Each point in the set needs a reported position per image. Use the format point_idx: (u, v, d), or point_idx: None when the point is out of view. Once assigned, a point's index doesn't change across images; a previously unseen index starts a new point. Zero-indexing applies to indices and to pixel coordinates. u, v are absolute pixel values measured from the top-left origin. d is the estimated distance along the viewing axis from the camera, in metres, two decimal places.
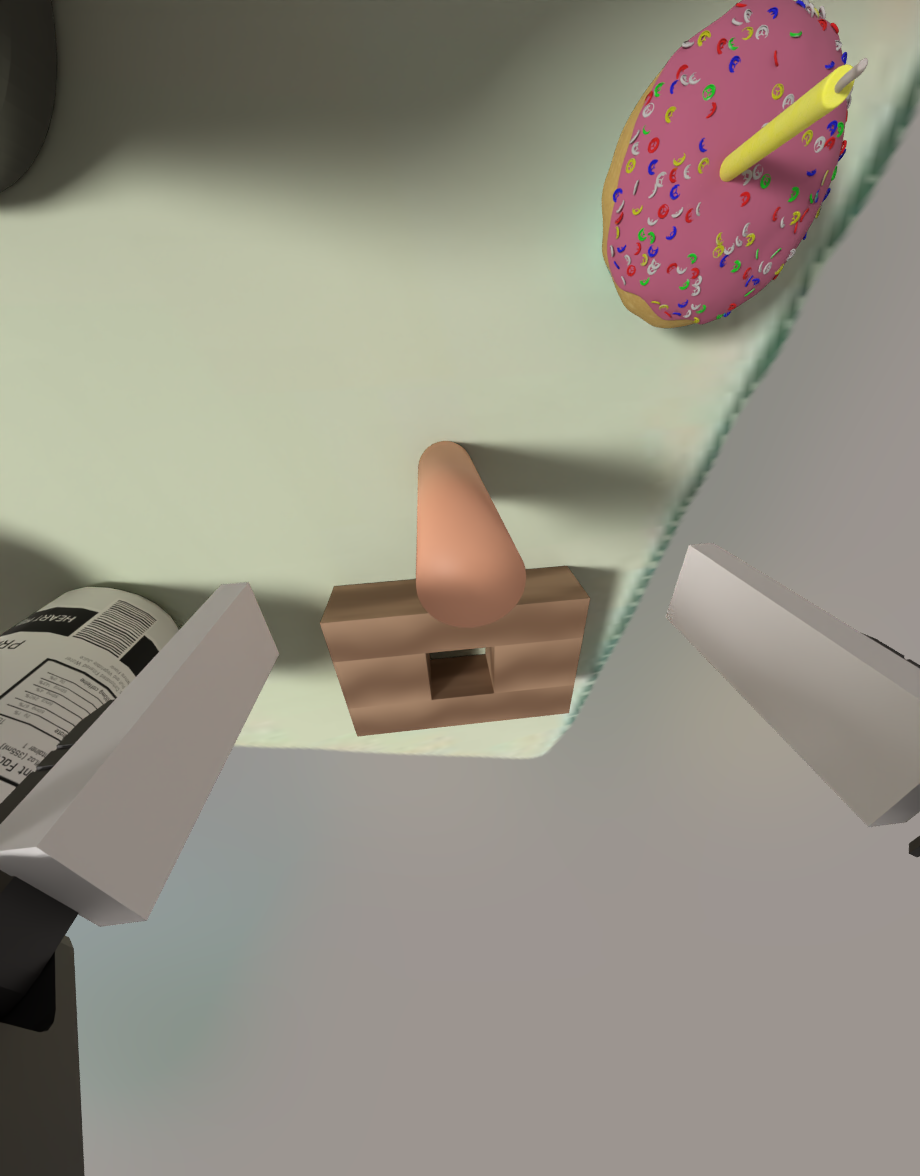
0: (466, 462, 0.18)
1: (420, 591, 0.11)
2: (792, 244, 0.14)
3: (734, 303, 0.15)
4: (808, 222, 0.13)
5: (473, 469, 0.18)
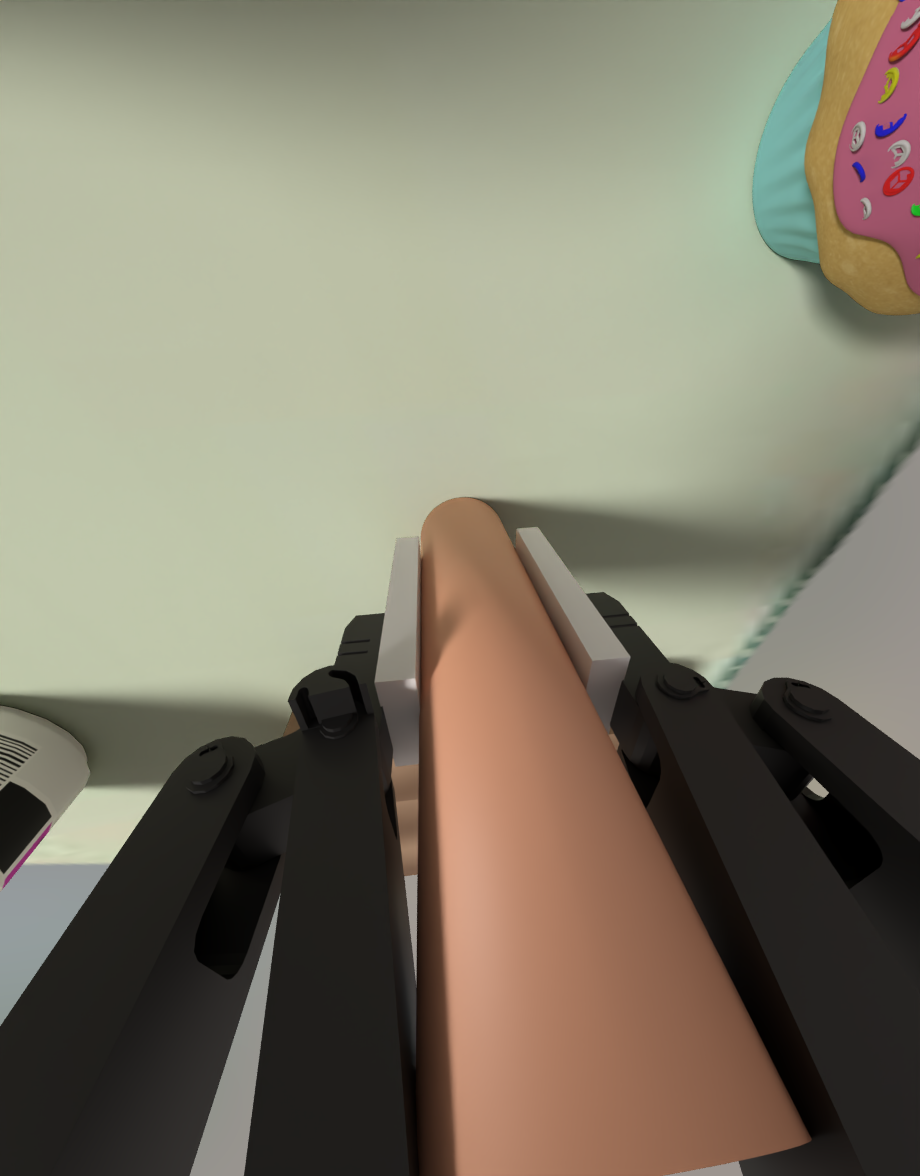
0: (506, 554, 0.10)
1: None
2: None
3: None
4: None
5: (520, 570, 0.10)
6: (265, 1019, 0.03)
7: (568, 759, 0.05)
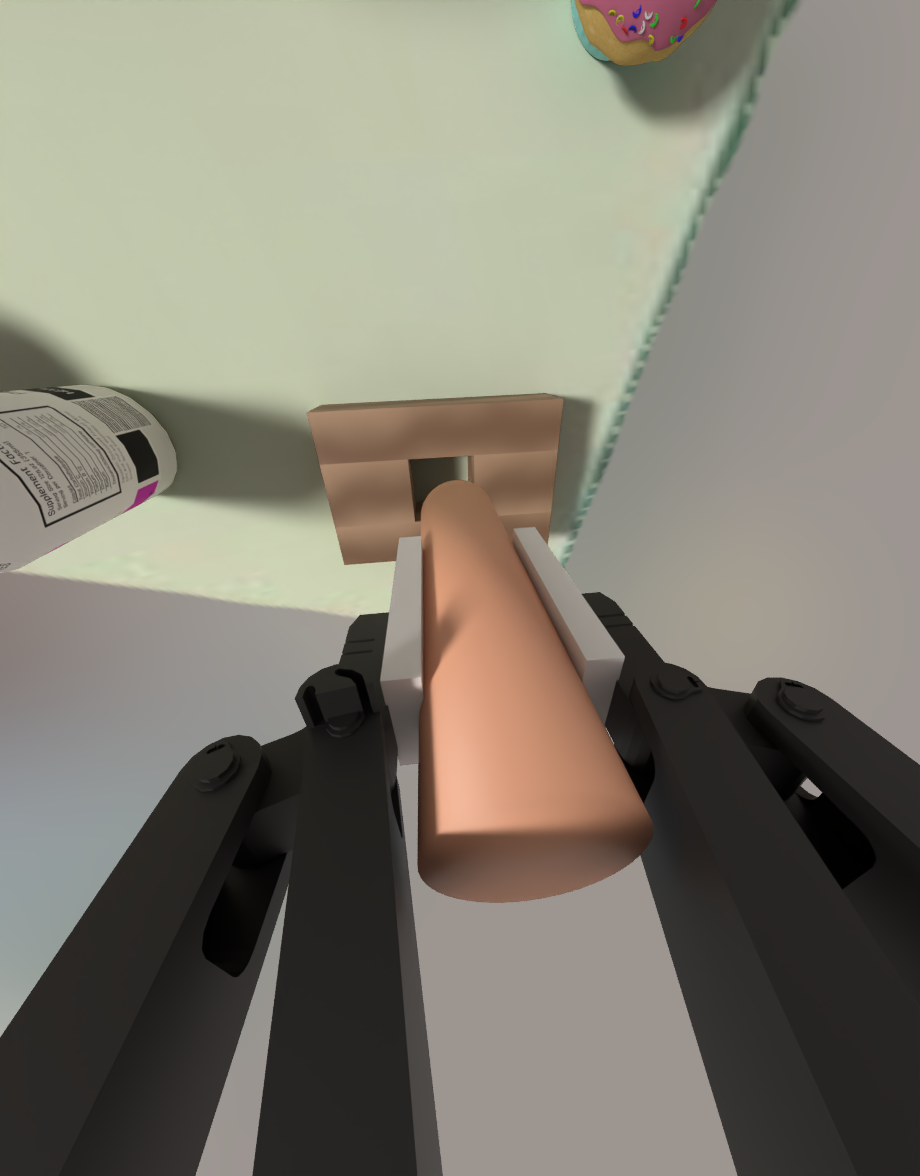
0: (492, 522, 0.12)
1: (426, 872, 0.05)
2: None
3: (685, 18, 0.16)
4: None
5: (503, 534, 0.12)
6: None
7: (524, 640, 0.07)
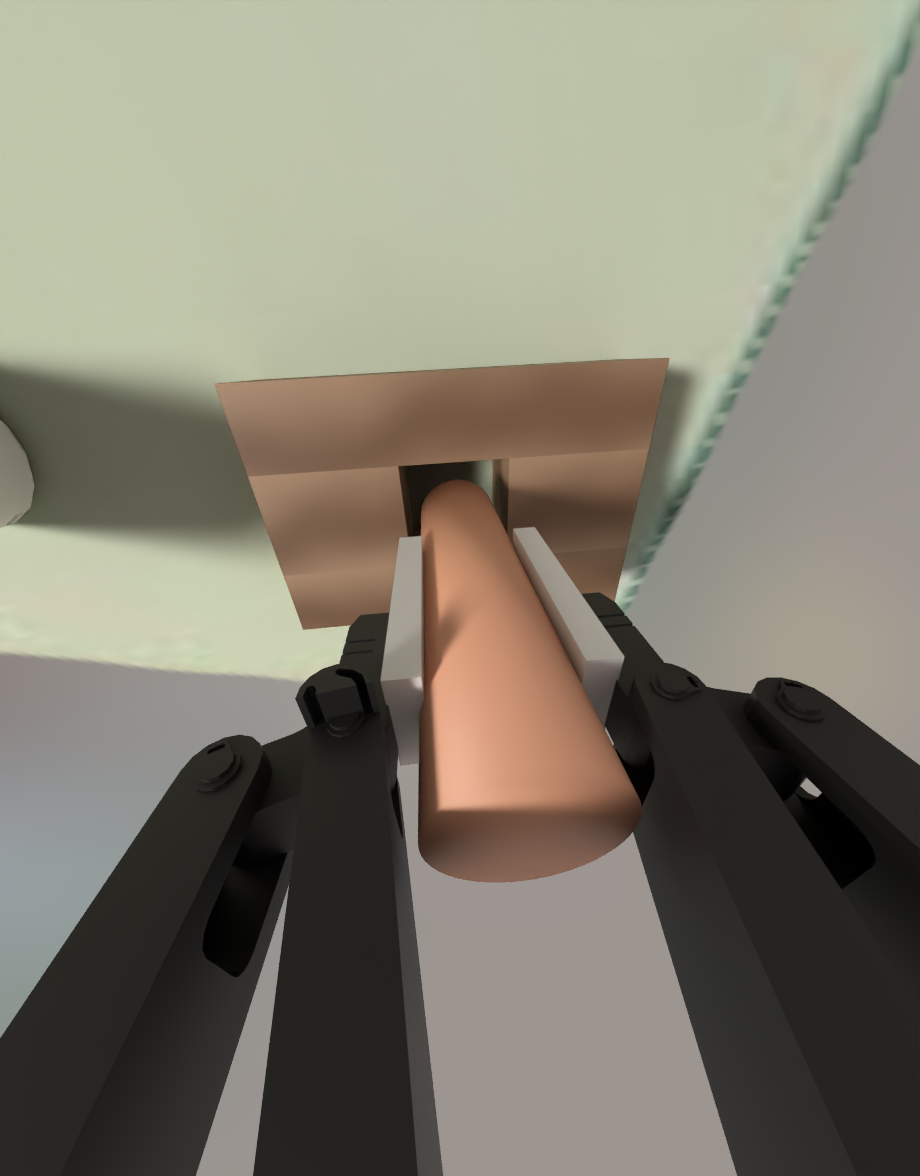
0: (491, 520, 0.13)
1: (425, 851, 0.06)
2: None
3: None
4: None
5: (502, 532, 0.12)
6: (274, 1015, 0.03)
7: (520, 632, 0.07)
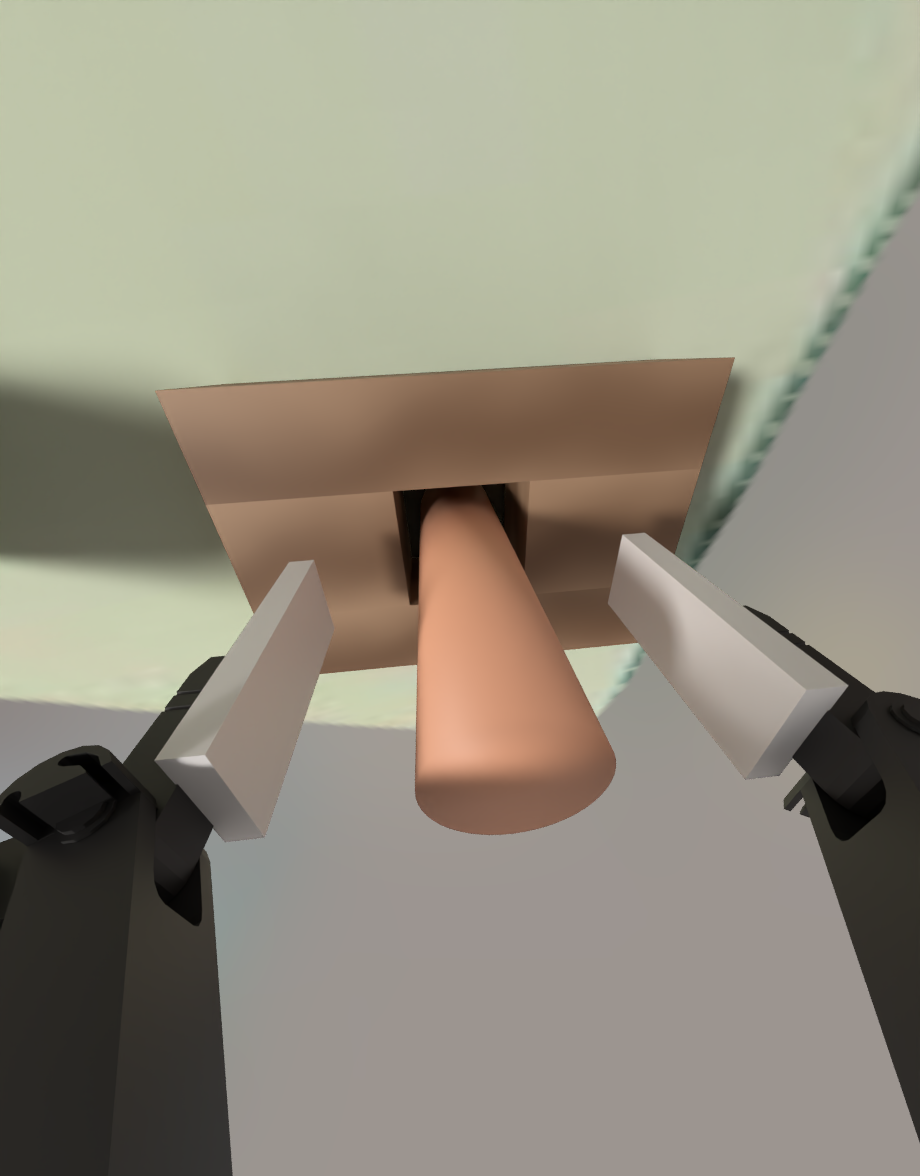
0: (486, 512, 0.13)
1: (422, 799, 0.06)
2: None
3: None
4: None
5: (496, 523, 0.13)
6: None
7: (510, 609, 0.08)
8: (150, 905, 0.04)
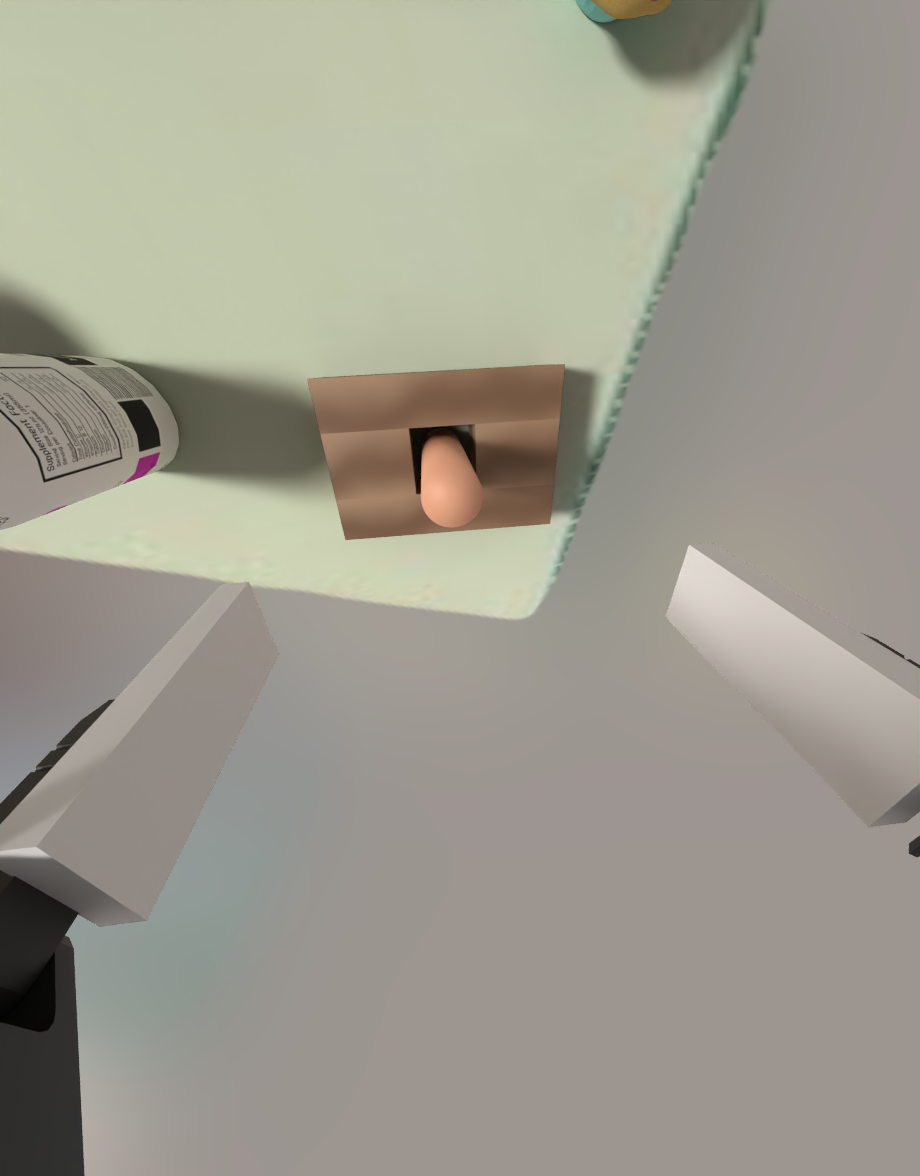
0: (454, 439, 0.27)
1: (423, 502, 0.20)
2: None
3: None
4: None
5: (459, 444, 0.27)
6: None
7: (454, 455, 0.21)
8: None
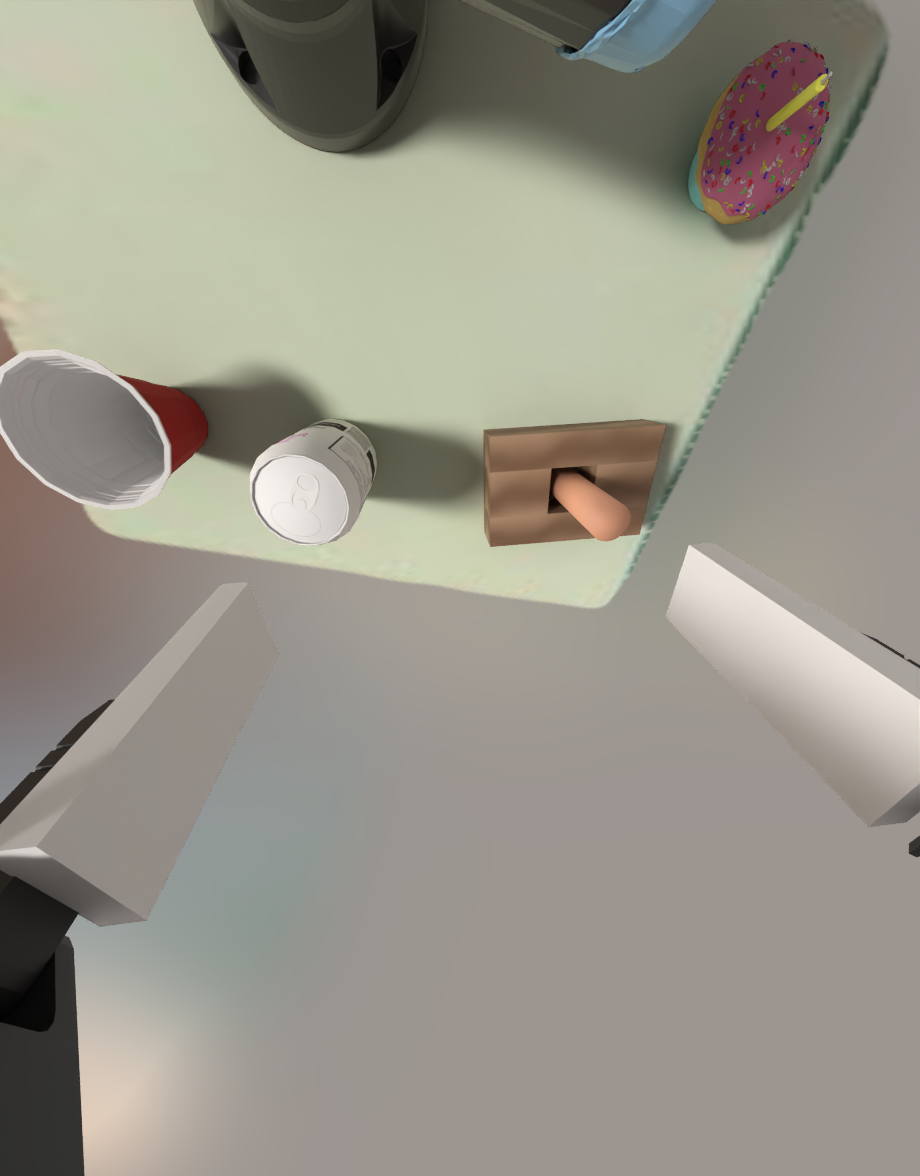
0: (582, 476, 0.38)
1: (591, 525, 0.31)
2: (801, 168, 0.26)
3: (769, 204, 0.27)
4: (810, 155, 0.26)
5: (586, 479, 0.37)
6: None
7: (604, 493, 0.32)
8: None
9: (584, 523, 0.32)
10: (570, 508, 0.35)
